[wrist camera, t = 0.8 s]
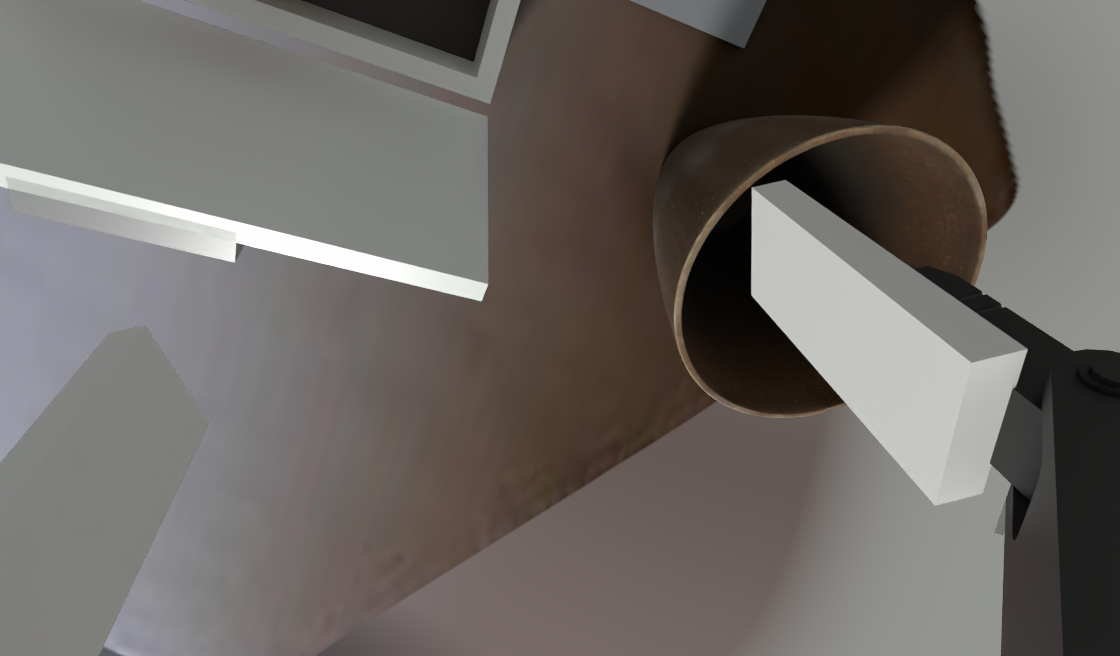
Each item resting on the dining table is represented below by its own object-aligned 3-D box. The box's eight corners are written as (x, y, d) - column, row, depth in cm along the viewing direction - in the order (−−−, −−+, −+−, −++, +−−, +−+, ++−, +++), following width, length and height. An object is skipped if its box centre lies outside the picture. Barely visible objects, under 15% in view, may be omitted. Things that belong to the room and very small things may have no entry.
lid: (-28, -56, 25) (-21, -15, 26) (-400, 63, 15) (-365, 125, 16) (487, 116, 32) (478, 144, 33) (488, 284, 21) (475, 317, 22)
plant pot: (579, 99, 38) (651, 187, 24) (814, 30, 38) (1015, 81, 24) (623, 301, 46) (694, 450, 32) (816, 245, 46) (967, 371, 32)
